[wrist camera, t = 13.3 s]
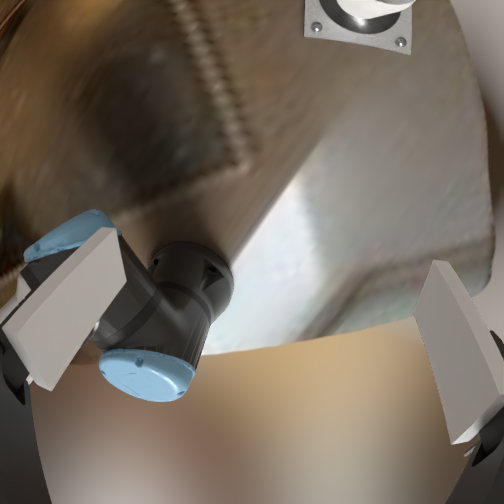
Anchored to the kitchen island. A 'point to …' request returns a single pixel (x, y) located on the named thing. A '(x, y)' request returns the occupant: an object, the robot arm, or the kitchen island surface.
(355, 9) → the cup
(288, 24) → the kitchen island surface
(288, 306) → the kitchen island surface
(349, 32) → the flange
